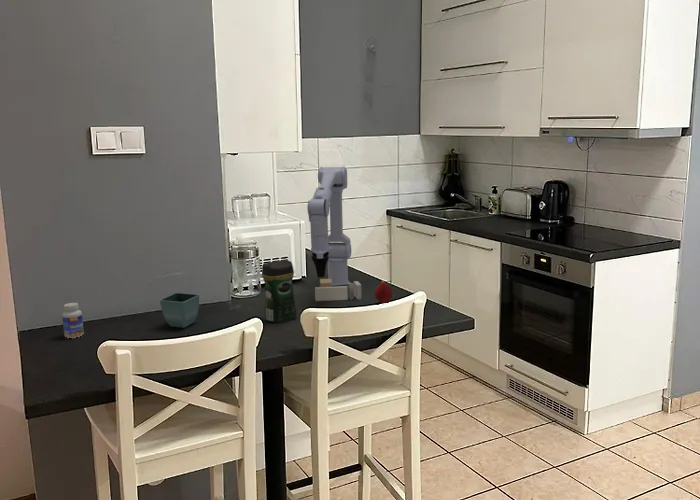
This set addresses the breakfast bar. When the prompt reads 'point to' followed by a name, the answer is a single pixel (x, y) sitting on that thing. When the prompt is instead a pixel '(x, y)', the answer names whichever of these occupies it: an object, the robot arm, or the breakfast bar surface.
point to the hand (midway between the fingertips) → (321, 275)
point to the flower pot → (180, 309)
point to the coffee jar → (279, 291)
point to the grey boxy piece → (354, 290)
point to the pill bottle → (72, 321)
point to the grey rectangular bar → (331, 293)
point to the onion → (383, 292)
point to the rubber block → (325, 282)
